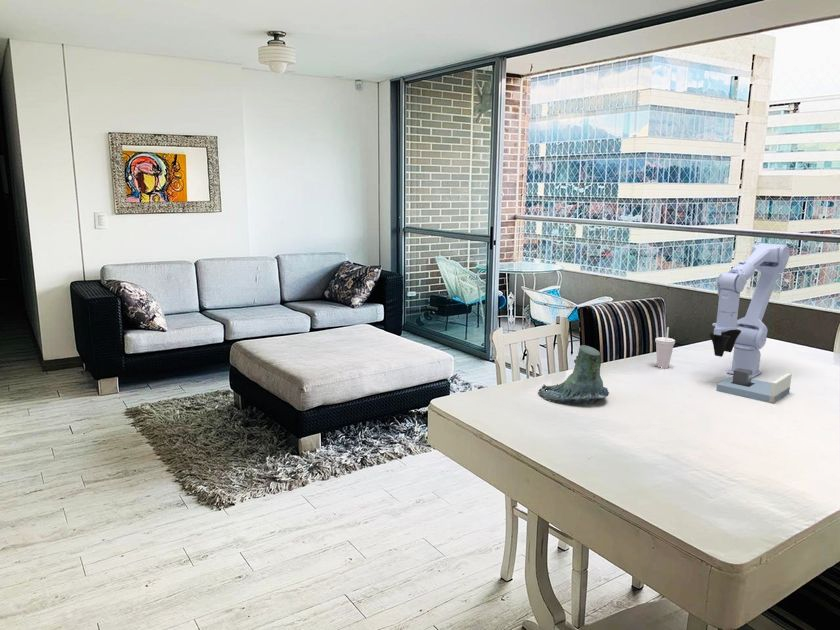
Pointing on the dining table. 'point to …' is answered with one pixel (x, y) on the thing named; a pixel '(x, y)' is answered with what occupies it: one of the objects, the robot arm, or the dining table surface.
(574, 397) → the tree stump
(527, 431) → the dining table surface
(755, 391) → the outlet plate
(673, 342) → the smoothie
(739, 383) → the plug
